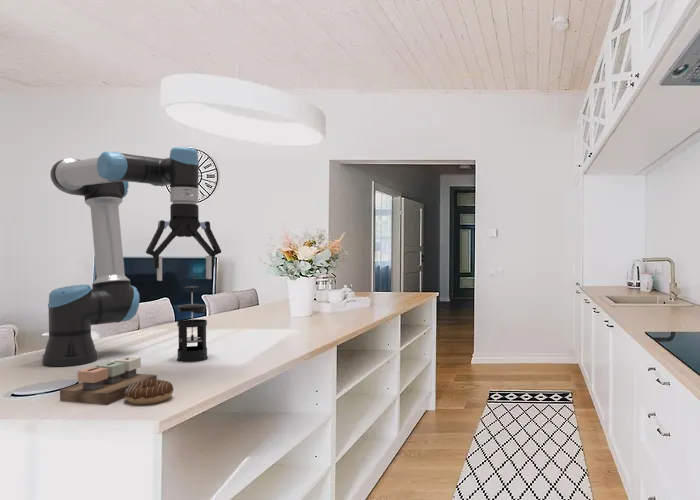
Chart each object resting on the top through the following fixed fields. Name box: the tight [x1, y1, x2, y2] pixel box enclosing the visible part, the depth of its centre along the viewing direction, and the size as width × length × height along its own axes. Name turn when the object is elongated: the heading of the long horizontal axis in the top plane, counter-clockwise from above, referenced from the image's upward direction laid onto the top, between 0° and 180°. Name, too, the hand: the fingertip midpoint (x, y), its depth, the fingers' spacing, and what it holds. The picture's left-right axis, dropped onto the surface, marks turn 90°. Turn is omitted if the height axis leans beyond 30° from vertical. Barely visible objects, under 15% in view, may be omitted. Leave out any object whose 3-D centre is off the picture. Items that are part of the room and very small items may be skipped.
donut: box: [124, 379, 174, 406], centre depth 125 cm, size 11×11×4 cm
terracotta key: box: [77, 366, 108, 383], centre depth 125 cm, size 4×4×3 cm
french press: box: [176, 285, 209, 363], centre depth 170 cm, size 12×9×23 cm
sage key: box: [96, 361, 125, 377], centre depth 131 cm, size 4×4×3 cm
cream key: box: [113, 356, 142, 371], centre depth 137 cm, size 4×4×3 cm
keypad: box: [59, 369, 158, 406], centre depth 131 cm, size 13×18×4 cm
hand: (184, 279), depth 150 cm, fingers open, 13 cm apart
